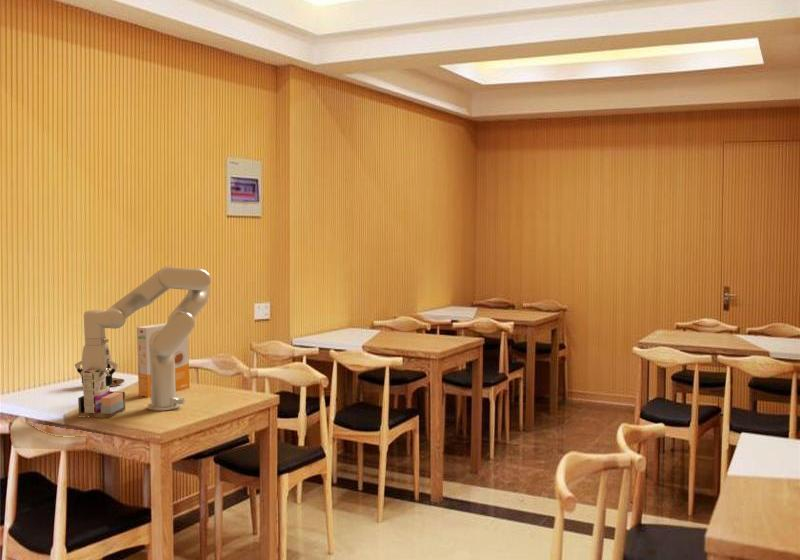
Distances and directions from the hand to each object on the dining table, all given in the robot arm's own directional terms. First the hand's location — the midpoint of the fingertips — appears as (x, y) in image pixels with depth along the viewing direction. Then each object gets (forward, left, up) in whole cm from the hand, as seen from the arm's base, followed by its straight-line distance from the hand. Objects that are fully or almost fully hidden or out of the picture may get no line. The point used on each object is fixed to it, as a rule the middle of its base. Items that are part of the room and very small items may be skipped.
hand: (97, 385), depth 300 cm
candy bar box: (0, 0, -10) cm, 10 cm away
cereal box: (-9, -41, -12) cm, 43 cm away
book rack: (-1, -1, -11) cm, 11 cm away
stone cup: (+25, -51, -12) cm, 57 cm away
